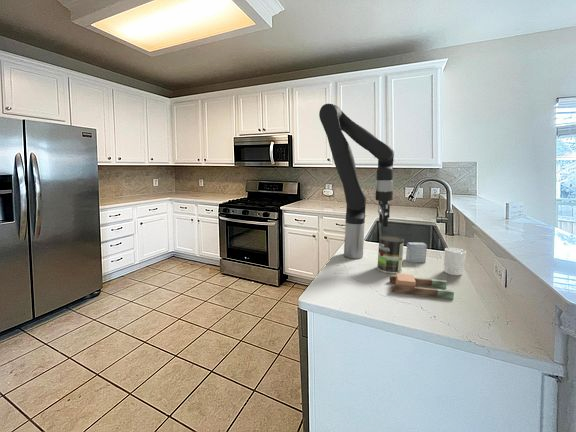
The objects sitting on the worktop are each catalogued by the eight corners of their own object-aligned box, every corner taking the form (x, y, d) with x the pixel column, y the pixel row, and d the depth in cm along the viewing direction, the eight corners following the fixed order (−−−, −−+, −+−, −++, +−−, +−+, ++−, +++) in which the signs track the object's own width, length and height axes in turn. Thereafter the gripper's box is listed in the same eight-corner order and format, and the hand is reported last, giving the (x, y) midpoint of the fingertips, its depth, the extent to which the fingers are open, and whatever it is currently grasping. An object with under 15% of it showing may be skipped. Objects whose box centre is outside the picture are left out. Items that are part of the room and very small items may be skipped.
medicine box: (422, 259, 139) (423, 242, 138) (425, 262, 135) (427, 245, 133) (405, 259, 140) (406, 242, 138) (408, 262, 135) (409, 244, 134)
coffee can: (388, 275, 120) (390, 242, 117) (372, 267, 129) (373, 236, 126) (407, 271, 124) (409, 240, 121) (390, 264, 133) (392, 234, 130)
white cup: (438, 269, 126) (440, 247, 124) (455, 269, 127) (458, 247, 125) (450, 276, 118) (452, 253, 117) (468, 275, 119) (470, 252, 117)
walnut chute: (391, 292, 104) (392, 285, 103) (389, 281, 113) (389, 275, 113) (453, 299, 99) (454, 292, 98) (445, 286, 108) (446, 280, 108)
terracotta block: (397, 290, 105) (398, 280, 104) (395, 283, 111) (396, 273, 111) (415, 292, 103) (415, 282, 102) (411, 284, 110) (412, 274, 109)
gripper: (373, 188, 139) (372, 221, 142) (378, 191, 125) (377, 227, 128) (389, 188, 138) (388, 221, 141) (396, 191, 124) (395, 227, 127)
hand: (383, 224), depth 135 cm, fingers open, 8 cm apart
